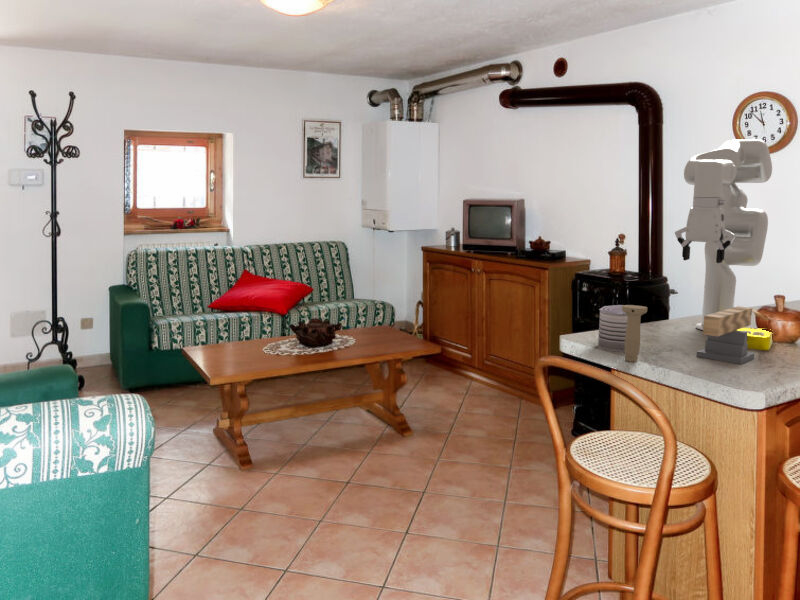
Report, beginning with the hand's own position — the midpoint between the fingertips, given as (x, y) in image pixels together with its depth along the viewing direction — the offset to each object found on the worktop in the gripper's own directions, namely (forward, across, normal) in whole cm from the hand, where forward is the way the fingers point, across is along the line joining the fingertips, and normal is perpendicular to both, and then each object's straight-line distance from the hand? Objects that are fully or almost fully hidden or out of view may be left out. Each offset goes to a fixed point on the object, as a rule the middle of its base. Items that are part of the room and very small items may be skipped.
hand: (702, 261), depth 213 cm
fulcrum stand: (+25, -12, +12) cm, 30 cm away
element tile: (+26, -10, -12) cm, 31 cm away
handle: (+24, +4, +36) cm, 43 cm away
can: (+25, +15, +22) cm, 36 cm away
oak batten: (+17, -12, +12) cm, 24 cm away
